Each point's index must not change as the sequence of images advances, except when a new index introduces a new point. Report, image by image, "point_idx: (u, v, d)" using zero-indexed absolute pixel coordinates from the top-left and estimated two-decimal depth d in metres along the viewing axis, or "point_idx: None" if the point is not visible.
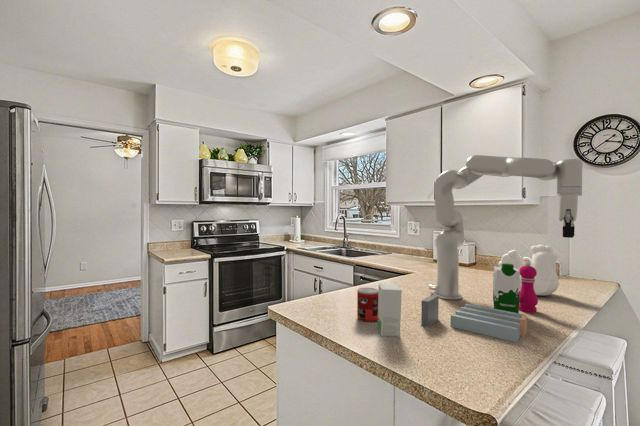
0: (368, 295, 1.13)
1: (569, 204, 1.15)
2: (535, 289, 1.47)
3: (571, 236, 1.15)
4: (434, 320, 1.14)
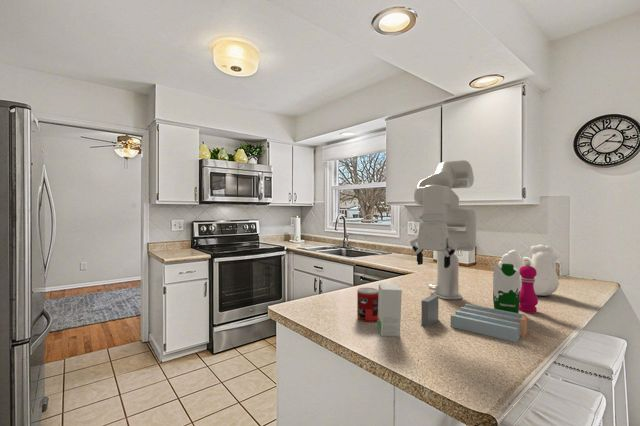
0: (368, 295, 1.13)
1: (447, 233, 1.11)
2: (535, 289, 1.47)
3: (448, 266, 1.11)
4: (434, 320, 1.14)
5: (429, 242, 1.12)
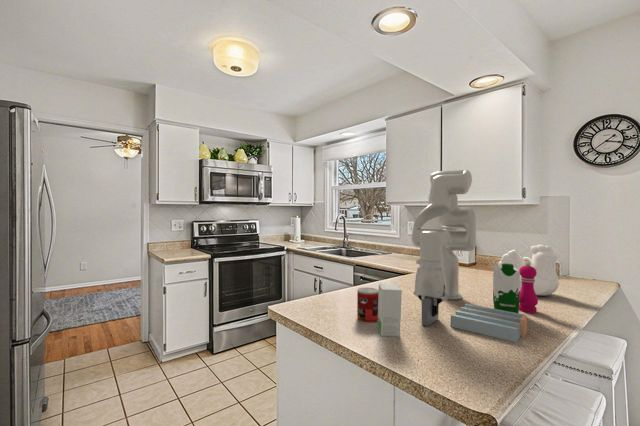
0: (368, 295, 1.13)
1: (444, 279, 1.11)
2: (535, 289, 1.47)
3: (436, 314, 1.14)
4: (434, 319, 1.14)
5: (426, 288, 1.12)
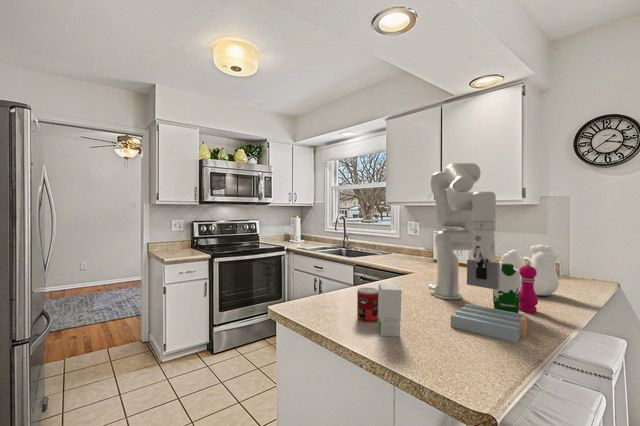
0: (368, 295, 1.13)
1: None
2: (535, 289, 1.47)
3: None
4: None
5: (491, 250, 1.08)
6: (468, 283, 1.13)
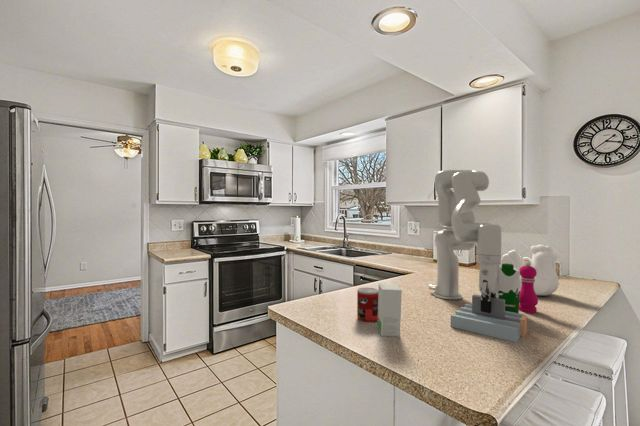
0: (368, 295, 1.13)
1: None
2: (535, 289, 1.47)
3: None
4: None
5: (497, 284, 1.08)
6: None
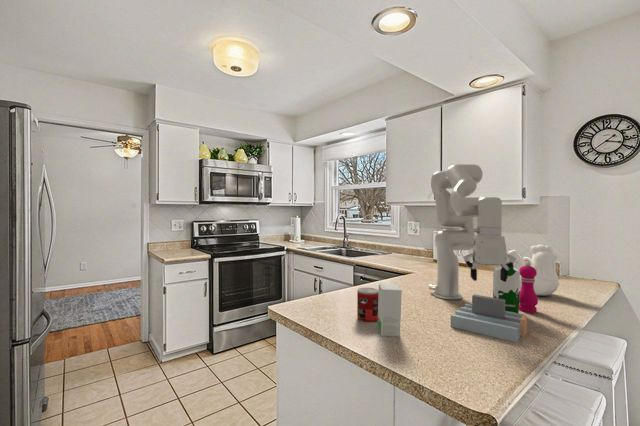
0: (368, 295, 1.13)
1: None
2: (535, 289, 1.47)
3: None
4: None
5: (490, 256, 1.08)
6: None
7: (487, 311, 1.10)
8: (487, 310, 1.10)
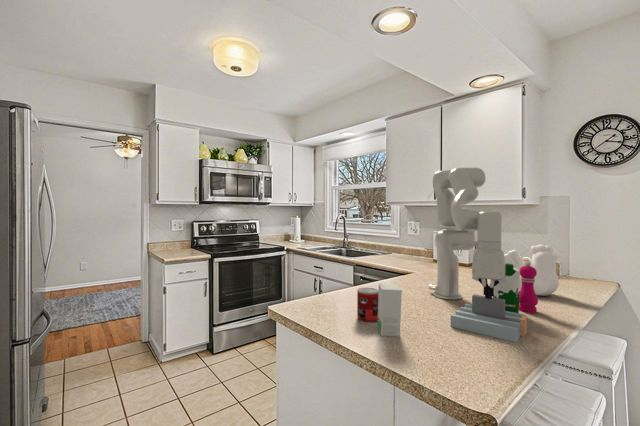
0: (368, 295, 1.13)
1: (504, 261, 1.07)
2: (535, 289, 1.47)
3: (491, 296, 1.11)
4: None
5: (485, 270, 1.08)
6: None
7: (487, 311, 1.10)
8: (487, 310, 1.10)
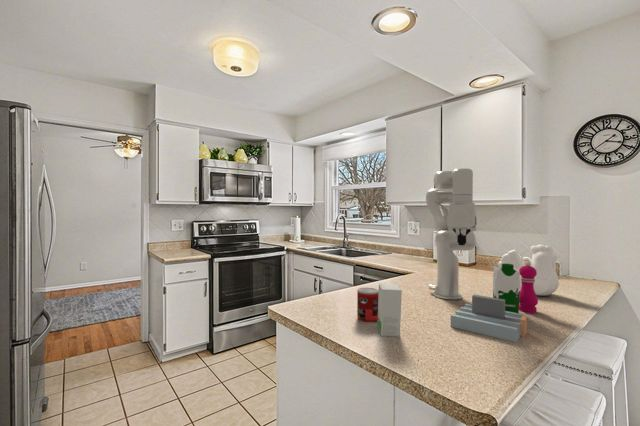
0: (368, 295, 1.13)
1: (475, 211, 1.23)
2: (535, 289, 1.47)
3: (464, 244, 1.26)
4: None
5: (459, 220, 1.24)
6: None
7: (487, 311, 1.10)
8: (487, 310, 1.10)
